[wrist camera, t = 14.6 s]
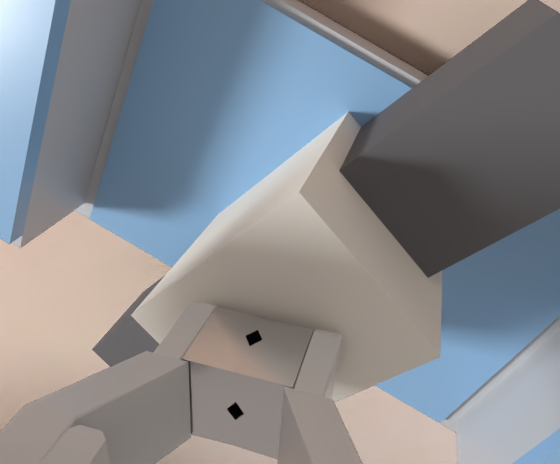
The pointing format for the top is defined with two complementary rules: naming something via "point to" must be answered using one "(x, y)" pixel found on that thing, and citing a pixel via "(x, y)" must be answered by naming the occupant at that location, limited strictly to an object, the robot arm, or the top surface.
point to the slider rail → (257, 174)
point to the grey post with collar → (382, 211)
